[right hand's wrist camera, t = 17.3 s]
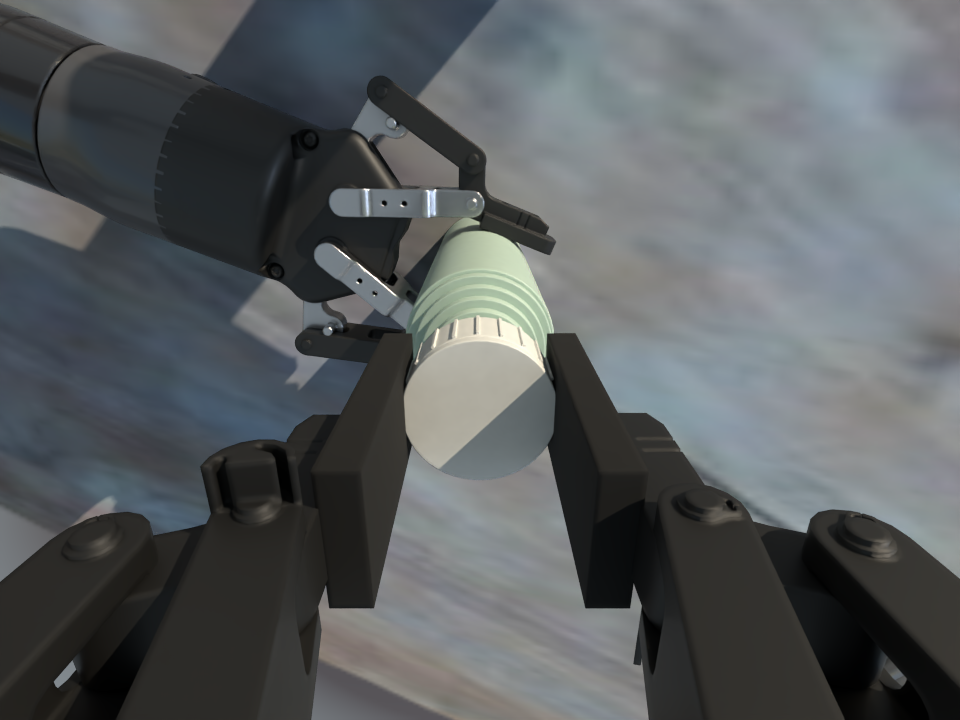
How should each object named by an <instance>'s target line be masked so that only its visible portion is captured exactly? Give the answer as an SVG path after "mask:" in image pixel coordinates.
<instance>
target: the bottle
mask: <svg viewBox="0 0 960 720" xmlns="http://www.w3.org/2000/svg"><path fill="white" fill-rule="evenodd" d="M476 315H480V317H487V318H494V319H498V318H502V321H505V322H507V323H510V324H512V325H514V326H516V327H519V326H520V327H521V328H522V331H524V332H525V333H526V334H527V335H529V337H530V338H531V339H532V340H533V341H534V340H536V341H537V343H538V346H539V349H540V350H541V352H542V354H543V356H544V358H545V357H546V345H547V333H554V331H553V325H552V320H551V317H550V315H549V312H548V310H547V307H546V305H545V303H544V300H543V298H542V296H541V294H540V291H539V289H538V287H537V284H536V282H535V280H534V278H533V275H532V273H531V271H530V269H529V266H528V264H527V262H526V259H525V257H524V255H523V253H522V250H521V248H520V246H519V244H518V243H517V242H515V241H512V240H510V239H507V238H505V237H503V236H500V235H498V234H495V233H492V232H490V231H487V230H485V229H482V228H480V227H479V222H478V221H476V220H473V219H471V218H463V219H461V220H459V221H457V222H456V223H455V224H454V225H452V226H451V228H450V229H449V230H448V231H447V233H446V234H445V236H444V238H443V240H442V243H441V245H440V247H439V249H438V252H437V254H436V256H435V259H434V261H433V263H432V265H431V268H430V270H429V272H428V274H427V277H426V279H425V281H424V283H423V286H422V288H421V290H420V293H419V295H418V297H417V299H416V302H415V304H414V306H413V308H412V311H411V313H410V316H409V319H408V323H407V327H406V333H412V337H413V357H414V360H415V357H416V355H417V353H418V350H419V347H420V344H421V343H424V342H425V341H426V340H427V339H428V338H429V337H430V336H431V335H432V334H433V333H434V332H435V329H437V328H438V329H440V328H442V327H444V326H446V325H447V324H449V323H452V322H454V320H455V319H458V320H461V319H465V318H473V317H476Z"/></svg>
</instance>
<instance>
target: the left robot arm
mask: <svg viewBox="0 0 960 720" xmlns="http://www.w3.org/2000/svg"><path fill="white" fill-rule="evenodd" d="M367 94H368V97H369V98H368V99H367V101H366V103H365V105H364V107H363V108H362V110H361V112H360V114H359V116H358V117H357V119H356V121H355V123H354V124H353V126H352V128H351V129H347V128H344V129H337V130H326V129H323V128H320V127H318V126H315V125H313V124H311V123H308V122H306V121H303V120H301V119H298V118H296V117H294V116H291V115H289V114H286V113H284V112H281V111H279V110H277V109H274V108H272V107H269V106H267V105H264V104H262V103H260V102H257V101H255V100H252V99H250V98H247V97H245V96H243V95H240V94H238V93H236V92H233V91H231V90H228V89H226V88H223V87H221V86H219V85H217V84H216V83H215V82H213V81H211V80H209V79H208V78H205V77H203V76H201V75H198V74H190V73H187V72H185V71H182V70H180V69H178V68H175V67H173V66H170V65H168V64H165V63H162V62H160V61H156V60H153V59H149V58H146V57H142V56H138V55H134V54H130V53H127V52H123V51H120V50H117V49H114V48H112V47H109V46H106V45H103V44H101V43H99V42H96V41H94V40H91V39H89V38H87V37H84V36H82V35H79V34H77V33H74V32H72V31H70V30H67V29H65V28H62V27H60V26H58V25H55V24H53V23H50V22H48V21H46V20H44V19H41V18H39V17H36V16H34V15H31V14H29V13H27V12H24V11H22V10H19V9H16V8H14V7H11V6H8V5H5V4H1V3H0V174H3V175H6V176H9V177H12V178H15V179H18V180H20V181H23V182H26V183H28V184H31V185H34V186H36V187H39V188H42V189H45V190H47V191H50V192H53V193H55V194H58V195H61V196H63V197H66V198H69V199H71V200H73V201H75V202H78V203H80V204H82V205H84V206H86V207H88V208H90V209H92V210H94V211H96V212H98V213H100V214H102V215H104V216H106V217H108V218H110V219H112V220H114V221H116V222H118V223H121V224H123V225H125V226H128V227H130V228H133V229H136V230H139V231H141V232H144V233H147V234H149V235H152V236H155V237H158V238H160V239H163V240H166V241H168V242H171V243H174V244H176V245H179V246H182V247H185V248H187V249H190V250H193V251H196V252H198V253H201V254H204V255H206V256H209V257H212V258H214V259H217V260H220V261H222V262H225V263H228V264H231V265H233V266H236V267H239V268H241V269H244V270H247V271H250V272H252V273H255V274H258V275H260V276H264V277H267V278H270V279H273V280H277V281H279V282H281V283H283V284H284V285H286V286H287V287H288V288H289V289H290V290H292V292H293V293H294V294H295V295H296V296H297V297H299V298H300V299H301V300H303V331H302V332H301V333H300V334H299V335H298V336H297V337H296V339H295V346H296V348H297V350H298V351H299V352H300V353H302V354H304V355H309V356H317V357H325V358H332V359H340V360H348V361H356V362H363V363H369V361H370V359H371V357H372V355H373V353H374V351H375V349H376V348H377V346H378V344H379V342H380V340H381V338H382V336H383V334H384V333H406V327H407V323H408V319H409V316H410V313H411V311H412V308H413V306H414V304H415V302H416V299H417V297H418V295H419V294H418V293H417V292H416V291H415V290H414V289H413V288H412V287H411V285H410V284H409V283H408V281H407V280H405V279H404V278H403V277H402V276H401V275H400V274H398V273H397V272H396V271H395V267H396V264H397V261H398V258H399V243H400V240H401V239H402V237H403V236H404V234H405V233H406V231H407V230H408V228H409V225H410V222H411V219H412V218H431V217H460V218H471V219H473V220H476V221H478V222H479V227H480V228H482V229H485V230H487V231H490V232H492V233H495V234H498V235H500V236H503V237H505V238H507V239H510V240H512V241H515V242H517V243H519V244H522V245H524V246H527V247H529V248H532V249H534V250H537V251H539V252H542V253H544V254H547V255H550V254H551V252H552V250H553V248H554V245H555V243H556V241H555V240H554V239H553V237H551V236H549V235H547V234H546V233H547V231H548V229H549V226H548V225H547V224H546V223H545V222H544V221H543V220H542V219H541V218H540V217H539V216H537V215H535V214H533V213H530V212H528V211H525V210H523V209H520V208H518V207H516V206H513V205H511V204H508V203H506V202H503V201H501V200H499V199H496V198H494V197H492V196H491V195H490V194H489V193H488V192H487V190H486V187H485V165H486V155H485V153H484V151H483V150H482V149H481V148H479V147H478V146H477V145H475V144H474V143H473V142H472V141H470V140H469V139H468V138H466V137H465V136H464V135H462V134H461V133H460V132H458V131H457V130H456V129H454V128H453V127H452V126H450V125H449V124H448V123H446V122H445V121H444V120H442V119H441V118H440V117H439V116H437V115H436V114H435V113H433V112H432V111H431V110H429V109H428V108H427V107H425V106H424V105H423V104H421V103H420V102H419V101H417V100H416V99H415V98H413V97H412V96H411V95H410V94H408V93H407V92H406V91H404V90H403V89H402V88H400V87H399V86H398V85H396V84H395V83H394V82H392V81H391V80H390V79H388V78H387V77H385V76H376V77H374V78H373V79H371V81H370V82H369V84H368V87H367ZM408 131H411V132H412V133H413V134H415V135H416V136H417V137H419V138H420V139H421V140H423V141H424V142H425V143H427V144H428V145H429V146H431V147H432V148H433V149H435V150H436V151H438V152H439V153H440V154H442V155H443V156H444V157H446V158H447V159H448V160H450V161H451V162H452V163H454V164H455V165H456V166H458V167H459V187H437V186H411V185H401V184H400V183H399V181H398V180H397V178H396V177H395V175H394V174H393V172H392V171H391V169H390V168H389V166H388V165H387V163H386V161H385V160H384V158H383V157H382V155H381V154H380V152H379V151H378V149H377V148H376V146H375V145H374V143H373V142H372V141H373V140H374V139H375V138H376V137H377V136H379V135H386V136H388V137H390V138H394V139H400V138H403V137H404V136H405V135H406V134H407V133H408ZM374 291H377V293H375V292H374ZM353 294H357V295H359V296H360V297H361V298H362V299H364V300H365V301H366V302H367V303H369V304H370V305H371V306H372V307H373V308H375V309H376V310H377V311H378V312H380V313H381V314H382V315H384V316H386V317H390V318H392V319H394V320H395V321H396V322H397V323H398V324H400V325H401V326H402V327H403V328H404V329H403V330H399V329H391V328H384V327H376V326H369V325H362V324H354V323H347V320H346V317H345V316H344V315H343V314H342V313H340V312H337V311H334V310H332V309H331V308H330V307H329V306H328V304H327V301H329V300H333V299H337V298H341V297H345V296H349V295H353Z"/></svg>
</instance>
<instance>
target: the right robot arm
mask: <svg viewBox="0 0 960 720" xmlns="http://www.w3.org/2000/svg"><path fill="white" fill-rule="evenodd" d="M546 357H547V360H548V363H549V366H550V369H551V372H552V375H553V378H554V380H553V381H552V383H553V386H554V389H555V392H556V396H555V414H554V431H553V436H552V438H551V440H550V441H549V443H548V449H549V453H550V458H551V462H552V466H553V470H554V475H555V479H556V483H557V488H558V492H559V496H560V501H561V505H562V509H563V514H564V518H565V522H566V526H567V531H568V535H569V539H570V544H571V548H572V552H573V557H574V561H575V565H576V570H577V574H578V578H579V582H580V587H581V591H582V595H583V600H584V604H585V608H630V605H631V598H632V591H633V583H634V585H635V588H636V591H637V593H638V596H639V599H640V602H641V605H642V609H641V616H640V623H639V629H638V636H637V643H636V650H635V657H634V664H635V665H641V659H642V664H643V672H644V681H645V689H646V698H647V707H648V715H649V720H960V579H959V578H958V577H957V576H956V575H954V574H953V573H952V572H951V571H950V570H948V569H947V568H946V567H945V566H944V565H942V564H941V563H940V562H939V561H938V560H936V559H935V558H934V557H933V556H931V555H930V554H929V553H928V552H927V551H925V550H924V549H923V548H922V547H921V546H919V545H918V544H917V543H916V542H915V541H913V540H912V539H911V538H910V537H908V536H907V535H905V534H904V533H902V532H901V531H899V530H898V529H896V528H895V527H893V526H891V525H889V524H887V523H885V522H882V521H880V520H878V519H876V518H875V517H872V516H869V515H866V514H860V513H858V512H853V511H845V510H827V511H822V512H818V513H817V514H816V515H814V516H813V517H812V518H811V519H810V523H809V526H808V530H807V533H802V532H797V531H793V530H788V529H783V528H778V527H773V526H768V525H764V524H761V523H757V522H753V520H752V518H751V516H750V514H749V512H748V511H747V510H746V508H745V507H744V506H743V505H742V503H741V502H740V501H738V500H737V499H735V498H734V497H732V496H731V495H729V494H728V493H726V492H723V491H721V490H719V489H716V488H714V487H711V486H706V485H704V483H703V482H702V480H701V479H700V477H699V476H698V474H697V473H696V471H695V470H694V468H693V467H692V466H691V464H690V463H689V461H688V460H687V458H686V457H685V455H684V454H683V452H680V448H679V446H678V445H677V444H676V442H675V441H673V438H672V436H671V435H670V433H669V432H668V430H667V429H666V427H665V426H664V424H662V423H661V422H659V421H657V420H656V419H654V418H653V417H651V416H650V415H648V414H647V413H618V412H617V411H616V409H615V407H614V405H613V403H612V401H611V399H610V397H609V396H608V394H607V392H606V390H605V388H604V386H603V384H602V382H601V381H600V379H599V377H598V375H597V373H596V371H595V369H594V368H593V366H592V364H591V362H590V360H589V358H588V356H587V354H586V353H585V351H584V349H583V347H582V345H581V343H580V341H579V339H578V338H577V336H576V334H575V333H547V345H546ZM412 360H413V361H414V357H413V337H412V333H384V334H383V336H382V338H381V340H380V342H379V344H378V346H377V348H376V349H375V351H374V353H373V355H372V357H371V359H370V361H369V363H368V364H367V366H366V368H365V370H364V372H363V374H362V376H361V377H360V379H359V381H358V383H357V385H356V387H355V389H354V391H353V392H352V394H351V396H350V398H349V400H348V402H347V404H346V406H345V407H344V409H343V411H342V413H341V415H312V416H311V417H309V418H308V419H306V420H305V421H303V422H302V423H300V424H299V425H297V426H296V427H295V429H294V430H293V432H292V433H291V434H290V436H289V437H288V439H287V442H281V441H277V440H253V441H247V442H241V443H238V444H235V445H232V446H230V447H227V448H224V449H222V450H220V451H219V452H217V453H215V454H213V455H212V456H210V457H209V458H208V459H207V460H206V461H205V462H204V463H203V464H202V465H201V466H200V467H201V472H202V476H203V480H204V485H205V489H206V494H207V498H208V502H209V507H210V511H211V515H210V517H209V519H208V521H207V524H204V525H200V526H197V527H193V528H188V529H184V530H179V531H174V532H169V533H164V534H159V535H154V536H153V533H152V529H151V526H150V522H149V521H148V520H147V519H146V518H145V517H144V516H143V515H141V514H136V513H130V512H121V513H109V514H104V515H100V516H98V517H97V516H96V517H93V518H89V519H87V520H85V521H83V522H81V523H79V524H77V525H74V526H72V527H70V528H68V529H66V530H65V531H63V532H62V533H60V534H59V535H57V536H56V537H54V538H53V539H51V540H50V541H49V542H48V543H46V544H45V545H44V546H43V547H42V548H40V549H39V550H38V551H37V552H36V553H34V554H33V555H32V556H31V557H30V558H28V559H27V560H26V561H25V562H24V563H22V564H21V565H20V566H19V567H18V568H16V569H15V570H14V571H13V572H12V573H10V574H9V575H8V576H7V577H6V578H4V579H3V580H2V581H1V582H0V720H311V716H312V708H313V699H314V691H315V682H316V673H317V665H318V656H319V648H320V639H321V623H320V616H319V609H318V606H319V603H320V600H321V597H322V594H323V592H324V589H325V586H326V588H327V595H328V602H329V608H374V606H375V601H376V597H377V593H378V588H379V584H380V580H381V575H382V571H383V567H384V563H385V558H386V554H387V550H388V545H389V541H390V537H391V532H392V528H393V524H394V519H395V515H396V511H397V507H398V502H399V498H400V494H401V489H402V485H403V481H404V476H405V472H406V468H407V464H408V459H409V455H410V451H411V446H412V444H411V443H410V441H409V439H408V437H407V435H406V425H405V408H404V390H405V387H406V378H407V375H408V372H409V369H410V366H411V363H412ZM72 660H73V662H74V665H75V667H76V671H75V672H74V673H73V674H72V675H71V677H70V678H69V679H68V680H67V681H66V682H65V683H63V684H62V685H61V686H60V687H59V688H57V687H56V686H55V684H54V681H55V679H56V678H57V677H58V676H59V675H60V674H61V673H62V671H63V670H64V669H65V668H66V667H67V666H68V664H69V663H70V662H71V661H72Z"/></svg>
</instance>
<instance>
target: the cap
mask: <svg viewBox="0 0 960 720" xmlns="http://www.w3.org/2000/svg"><path fill="white" fill-rule="evenodd" d="M553 380H554V378H553V375H552V372H551V369H550V366H549V363H548V360H547V357H545V358H544V356H543V354H542V352H541V350H540V349H539V346H538V343H537V341H536V340H534V341H533V340H532V339H531V338H530V337H529V335H527V334H526V333H525V332H524V331H522V328H521V327H520V326H519V327H516V326H514V325H512V324H510V323H507V322H505V321H502V318H498V319H494V318H487V317H480V315H476V317H473V318H465V319H461V320H458V319H455V320H454V322H452V323H449V324H447V325H446V326H444V327H442V328H440V329H438V328H437V329H435V332H434V333H433V334H432V335H431V336H430V337H429V338H428V339H427V340H426V341H425V342H424V343H421V344H420V347H419V350H418V353H417V355H416V357H415V360H414V361H413V360H412V363H411V366H410V369H409V372H408V375H407V378H406V387H405V390H404V408H405V425H406V435H407V437H408V439H409V441H410V443H411V444H412V446H413V447H414V449H415V450H416V451H417V452H418V454H419V455H420V456H421V457H422V458H423V459H424V460H426V461H427V462H428V463H429V464H431V465H432V466H433V467H435V468H436V469H438V470H440V471H442V472H444V473H446V474H449V475H452V476H455V477H459V478H463V479H470V480H490V479H496V478H501V477H504V476H508V475H511V474H513V473H515V472H517V471H519V470H521V469H523V468H524V467H526V466H528V465H529V464H530V463H531V462H533V461H534V460H535V459H536V458H537V457H538V456H539V455H540V454H541V453H542V452H543V450H544V449H545V448H546V446H547V445H548V443H549V441H550V440H551V438H552V436H553V431H554V414H555V396H556V392H555V389H554V386H553V383H552V381H553Z"/></svg>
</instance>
